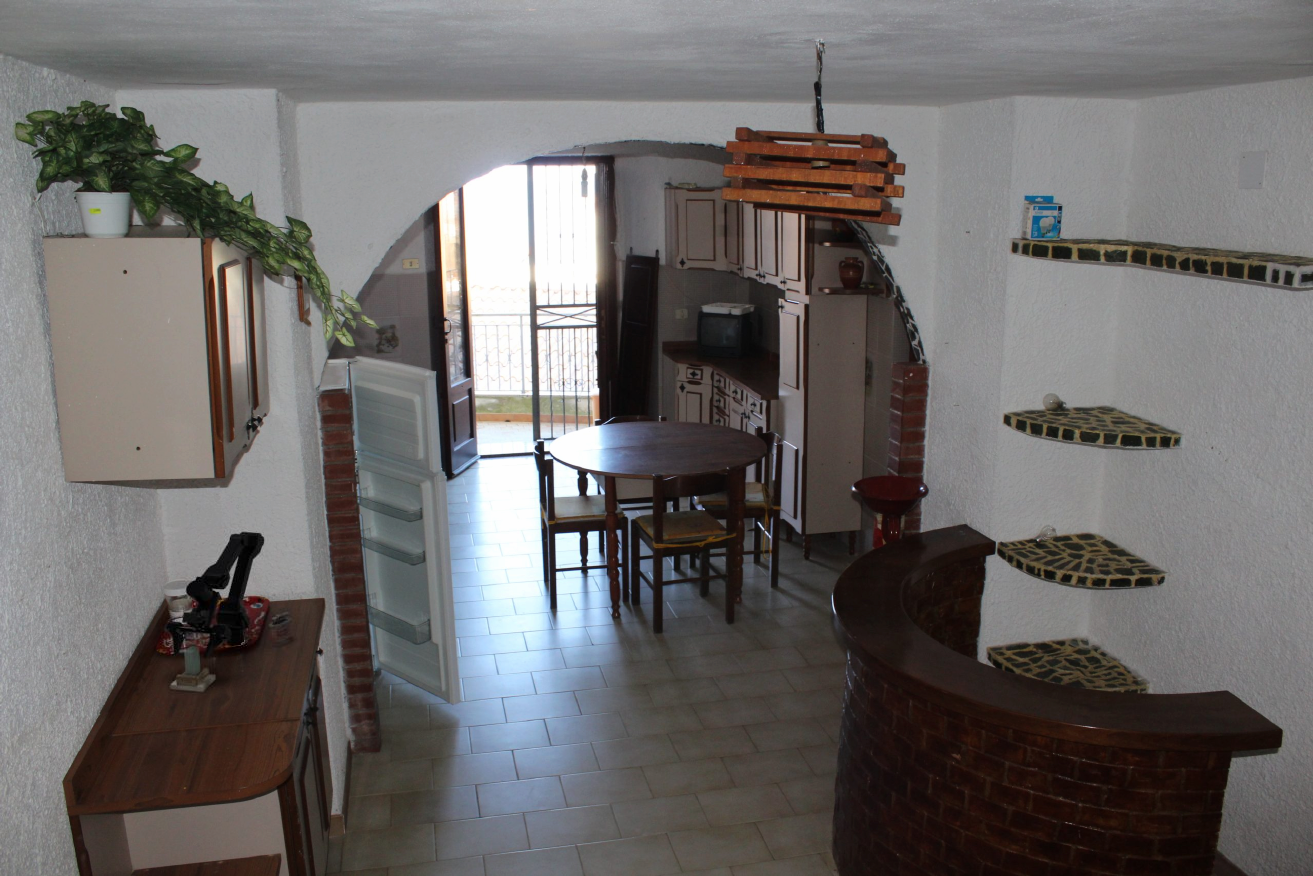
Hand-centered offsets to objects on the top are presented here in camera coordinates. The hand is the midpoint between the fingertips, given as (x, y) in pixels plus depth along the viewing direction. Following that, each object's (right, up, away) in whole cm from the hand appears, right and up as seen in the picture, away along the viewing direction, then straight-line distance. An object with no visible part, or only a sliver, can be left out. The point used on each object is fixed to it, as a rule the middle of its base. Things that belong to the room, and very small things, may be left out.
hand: (190, 657), depth 307 cm
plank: (0, -7, +3) cm, 8 cm away
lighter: (+16, -2, +32) cm, 36 cm away
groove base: (0, -9, +3) cm, 9 cm away
